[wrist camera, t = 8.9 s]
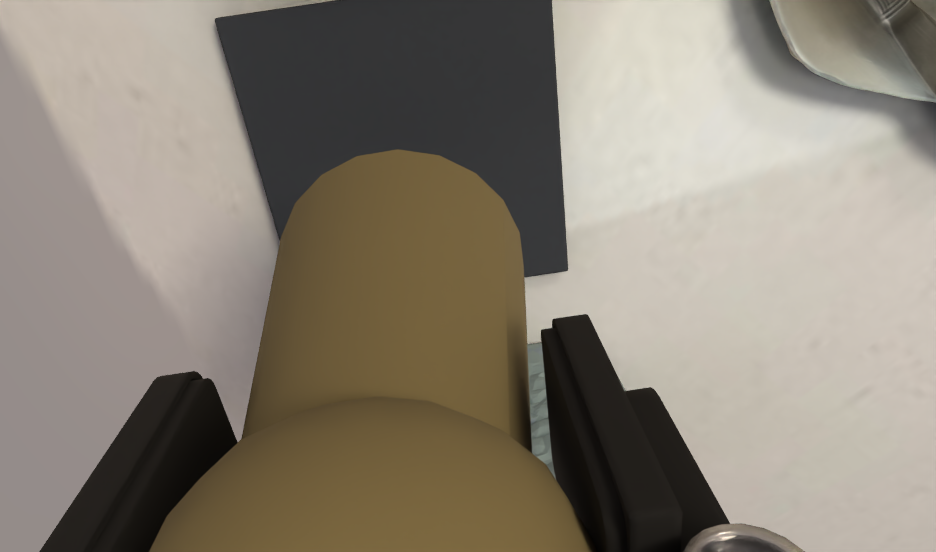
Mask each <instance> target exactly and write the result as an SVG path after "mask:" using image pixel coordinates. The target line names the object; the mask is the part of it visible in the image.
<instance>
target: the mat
mask: <svg viewBox="0 0 936 552" xmlns="http://www.w3.org/2000/svg"><path fill="white" fill-rule="evenodd" d="M215 23H216V26H217V30H218V33H219V37H220V40H221V43H222V47H223V50H224V54H225V57H226V60H227V64H228V67H229V70H230V74H231V77H232V81H233V84H234V87H235V91H236V94H237V98H238V101H239V104H240V108H241V111H242V114H243V118H244V121H245V125H246V128H247V131H248V135H249V138H250V142H251V145H252V148H253V152H254V155H255V158H256V162H257V165H258V169H259V172H260V175H261V179H262V182H263V186H264V189H265V192H266V196H267V199H268V202H269V206H270V209H271V213H272V216H273V219H274V223H275V226H276V230H277V233H278V236H279V240H281V236H282V233H283V231H284V229H285V226H286V224H287V221H288V219H289V217H290V214H291V212H292V209H293V207H294V205H295V203H296V202H297V200H298V199H299V198H300V197H301V196H302V195H303V194H304V193H305V192H306V191H307V190H308V189H309V188H310V186H311V185H312V184H313V183H314V182H315V181H316V180H317V179H318V178H319V177H320V176H321V175H322V174H324V173H326V172H328V171H330V170H332V169H333V168H335V167H337V166H339V165H341V164H343V163H345V162H347V161H349V160H351V159H352V158H354V157H356V156H361V155H367V154H373V153H379V152H385V151H391V150H397V149H399V150H406V151H413V152H420V153H427V154H434V155H440V156H442V157H444V158H446V159H448V160H450V161H452V162H454V163H456V164H458V165H460V166H462V167H464V168H466V169H468V170H470V171H472V172H474V173H476V174H477V175H478V176H479V177H480V178H481V179H482V180H483V181H484V182H485V183H486V184H487V185H488V186H489V187H491V188H492V189H493V190H494V191H495V192H496V193H497V194H498V195H499V196H500V197H501V198H502V199H503V200H504V202H505V204H506V206H507V208H508V210H509V212H510V214H511V216H512V218H513V220H514V222H515V224H516V226H517V228H518V230H519V232H520V239H521V248H522V256H523V264H524V277H529V276H536V275H543V274H550V273H557V272H564V271H568V261H567V245H566V228H565V212H564V195H563V179H562V163H561V146H560V130H559V113H558V97H557V80H556V64H555V48H554V31H553V15H552V0H336V1H330V2H323V3H316V4H309V5H302V6H295V7H288V8H281V9H275V10H268V11H261V12H254V13H247V14H240V15H233V16H226V17H220V18H216V19H215Z"/></svg>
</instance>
